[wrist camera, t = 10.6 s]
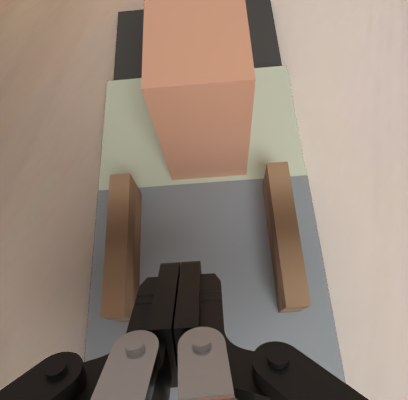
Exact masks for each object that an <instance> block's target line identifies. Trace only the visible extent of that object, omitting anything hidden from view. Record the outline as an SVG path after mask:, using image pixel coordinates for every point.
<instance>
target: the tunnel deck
mask: <svg viewBox="0 0 408 400" xmlns="http://www.w3.org/2000/svg"><path fill="white" fill-rule="evenodd" d="M290 178H291V184H292V190H293V197H294V203H295V209H296V215H297V221H298V227H299V234H300V240H301V246H302V252H303V258H304V264H305V271H306V277H307V283H308V289H309V295H310V301H311V306H310V307H308V308H306V309H304V310H302V311H300V312H286V313H278V305H277V297H276V290H275V282H274V274H273V266H272V258H271V250H270V242H269V234H268V226H267V218H266V210H265V202H264V194H263V186H262V185H263V180H264V179H250V180H236V181H222V182H209V183H195V184H181V185H167V186H154V187H140V188H139V190H140V192H141V194H142V207H141V246H140V285H141V284H142V283H143V282H144V281H145V279H146V278H147V277H158V273H159V269H160V264H161V263H173V262H180V263H181V262H189V261H200V262H201V271H202V274H210V273H215V274H216V275H217V277H218V278H219V279H220V281H221V289H222V304H223V318H224V331H225V334H226V337H227V338H228V339H229V341H230V342H232V343H233V344H234V345H236V346H238V347H240V348H243V349H246V350H251V351H255V350H256V348H257V347H259V346H260V345H262V344H264V343H266V342H272V341H279V342H284V343H287V344H289V345H291V346H293V347H295V348H296V349H298V350H299V351H300V352H302V353H303V354H305V355H306V356H307V357H309V358H310V359H312V360H313V361H314V362H316V363H317V364H319V365H320V366H322V367H323V368H324V369H326V370H327V371H329V372H330V373H331V374H333V375H334V376H336V377H337V378H338V379H340V380H341V381H343V382H344V383H346V382H345V377H344V371H343V366H342V360H341V355H340V350H339V344H338V339H337V333H336V328H335V322H334V317H333V312H332V306H331V301H330V295H329V290H328V284H327V279H326V274H325V268H324V263H323V257H322V252H321V247H320V241H319V236H318V230H317V225H316V219H315V214H314V209H313V203H312V198H311V192H310V187H309V181H308V176H307V175H305V176H291V177H290ZM108 195H109V190H99V191H98V198H97V210H96V223H95V235H94V248H93V260H92V272H91V285H90V297H89V310H88V322H87V335H86V347H85V360H84V362H86V361H90V360H93V359H96V358H99V357H102V356H105V355H107V354H109V353H110V351H111V349H112V347H113V345H114V343H115V342H116V341H117V340H118V339H119V338H120V337H121V336H123V335H124V334H126V331H127V328H128V324H129V321H124V322H117V321H113V320H108V319H104V318H100V314H101V299H102V284H103V270H104V255H105V240H106V225H107V210H108ZM140 285H139V286H140ZM169 400H178V387H174V388H170V398H169Z"/></svg>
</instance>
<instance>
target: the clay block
mask: <svg viewBox="0 0 408 400" xmlns="http://www.w3.org/2000/svg"><path fill="white" fill-rule="evenodd" d="M255 81H256V78H255V71H254V63H253V55H252V48H251V40H250V33H249V25H248V17H247V10H246V2H245V0H144V21H143V50H142V80H141V90H142V93H143V96H144V99H145V102H146V105H147V107H148V110H149V113H150V116H151V119H152V122H153V125H154V128H155V131H156V134H157V137H158V140H159V143H160V146H161V148H162V151H163V154H164V157H165V160H166V163H167V166H168V169H169V172H170V175H171V178H172V180H181V179H195V178H210V177H224V176H238V175H247V165H248V155H249V144H250V134H251V123H252V113H253V102H254V92H255Z"/></svg>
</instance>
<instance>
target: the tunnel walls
mask: <svg viewBox="0 0 408 400" xmlns="http://www.w3.org/2000/svg"><path fill="white" fill-rule="evenodd" d="M262 186H263V194H264V202H265V210H266V218H267V226H268V234H269V242H270V250H271V258H272V266H273V274H274V282H275V290H276V297H277V305H278V313H286V312H300V311H302V310H304V309H306V308H308V307H310V306H311V301H310V295H309V289H308V283H307V277H306V271H305V264H304V258H303V252H302V246H301V240H300V234H299V227H298V221H297V215H296V209H295V203H294V197H293V190H292V184H291V178H290V172H289V166H288V162H274V163H267V165H266V170H265V175H264V180H263V185H262ZM141 207H142V194H141V192H140V190H139V188H138V186H137V185H136V183H135V181H134V179H133V178H132V176H131V174H130V173H127V174H113V175H110V180H109V195H108V210H107V225H106V240H105V255H104V270H103V284H102V299H101V314H100V318H104V319H108V320H113V321H117V322H124V321H130V317H131V314H132V310H133V307H134V303H135V300H136V298H137V293H138V289H139V285H140V246H141Z"/></svg>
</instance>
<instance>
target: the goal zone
mask: <svg viewBox="0 0 408 400" xmlns="http://www.w3.org/2000/svg"><path fill="white" fill-rule="evenodd" d="M254 71H255V78H256V81H255V92H254V102H253V113H252V123H251V134H250V144H249V155H248V165H247V175H238V176H224V177H210V178H195V179H181V180H172V178H171V175H170V172H169V169H168V166H167V163H166V160H165V157H164V154H163V151H162V148H161V146H160V143H159V140H158V137H157V134H156V131H155V128H154V125H153V122H152V119H151V116H150V113H149V110H148V107H147V105H146V102H145V99H144V96H143V93H142V90H141V80H142V78H136V79H125V80H113V81H107V89H106V101H105V114H104V126H103V139H102V151H101V164H100V176H99V189H98V191H99V190H109V180H110V175H113V174H127V173H130V174H131V176H132V178H133V179H134V181H135V183H136V185H137V186H138V188H140V187H154V186H167V185H181V184H195V183H209V182H222V181H236V180H250V179H264V175H265V170H266V165H267V163H274V162H288V166H289V172H290V177H291V176H305V175H307V172H306V166H305V161H304V156H303V150H302V145H301V139H300V134H299V128H298V123H297V118H296V112H295V107H294V101H293V96H292V90H291V85H290V80H289V74H288V69H287V65H286V66H275V67H263V68H254Z"/></svg>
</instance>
